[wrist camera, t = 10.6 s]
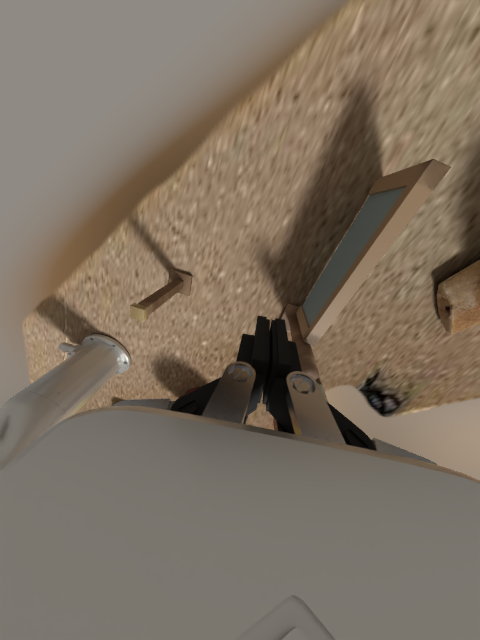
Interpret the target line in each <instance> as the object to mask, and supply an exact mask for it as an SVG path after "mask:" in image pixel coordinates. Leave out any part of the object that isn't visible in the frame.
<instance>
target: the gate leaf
mask: <svg viewBox="0 0 480 640" xmlns="http://www.w3.org/2000/svg"><path fill="white" fill-rule="evenodd" d="M450 168H451V167H450V166H448V165H446V164H444V163H441V162H439V161H437V160H435V159H432V160H429V161H426V162H423V163H420V164H418V165H415V166H412V167H409V168H406V169H404V170H401V171H398V172H395V173H392V174H390V175H387V176H384V177H381V178H378V179H377V180H376V182H375V183H374V185H373V186H372V188H371V190H370V191H369V193H368V195H370V196H369V197H368V199H367V201H366V202H365V204H364V206H363V207H362V209H361V211H360V212H359V214H358V215H357V217H356V219H355V220H354V222H353V224H352V225H351V227H350V229H349V230H348V232H347V233H346V235H345V237H344V238H343V240H342V242H341V243H340V245H339V246H338V248H337V250H336V251H335V253H334V255H333V256H332V258H331V260H330V261H329V263H328V264H327V266H326V268H325V269H324V271H323V273H322V274H321V276H320V277H319V279H318V281H317V282H316V284H315V286H314V287H313V289H312V291H311V292H310V294H309V295H308V297H307V299H306V300H305V302H304V304H303V305H300V307H299V309H298V310H297V312H296V314H297V318H298V322H299V326H300V330H301V333H302V337H303V341H304V342H305V343H307V344H310V345H313V346H315V345H316V343H317V342H318V341H319V339H320V338H321V337H322V336H323V334H324V333H325V332H326V330H327V329H328V328H329V326H330V325H331V324H332V322H333V321H334V320H335V318H336V317H337V316H338V315H339V313H340V312H341V311H342V309H343V308H344V307H345V305H346V304H347V303H348V301H349V300H350V299H351V297H352V296H353V295H354V294H355V292H356V291H357V290H358V288H359V287H360V286H361V284H362V283H363V282H364V280H365V279H366V278H367V277H368V275H369V274H370V273H371V271H372V270H373V269H374V267H375V266H376V265H377V263H378V262H379V261H380V259H381V258H382V257H383V256H384V254H385V253H386V252H387V250H388V249H389V248H390V246H391V245H392V244H393V242H394V241H395V240H396V238H397V237H398V236H399V235H400V233H401V232H402V231H403V229H404V228H405V227H406V225H407V224H408V223H409V221H410V220H411V219H412V218H413V216H414V215H415V214H416V212H417V211H418V210H419V208H420V207H421V206H422V204H423V203H424V202H425V200H426V199H427V198H428V197H429V195H430V194H431V193H432V191H433V190H434V189H435V187H436V186H437V185H438V183H439V182H440V181H441V180H442V178H443V177H444V176H445V174H446V173H447V172H448V170H449V169H450Z"/></svg>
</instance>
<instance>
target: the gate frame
mask: <svg viewBox="0 0 480 640" xmlns="http://www.w3.org/2000/svg"><path fill="white" fill-rule="evenodd" d="M192 276H193V275H190V274H187V273H184V272H180V271H177V270H174V269H170V277H169V284H167V285H166V286H164V287H162V288H161V289H159V290H158V291H156V292H155V293H153V294H152V295H150V296H149V297H147V298H146V299H144V300H142V301H141V302H139V303H138V304H136V303H134V304H132V305H130V312H131V318H134V319H137V320H140V321H143V322H145V321H146V320H147V319H148V315H150V314H151V313H152V312H153V311H155V310H156V309H157V308H158V307H160V306H161V305H162V304H163V303H165V302H166V301H167V300H168V299H170V298H171V297H172V296H173V295H174V294H176V293H177V292H178V293H181V294H184V295H187V296H189V295H190V291H191V283H192ZM298 309H299V306H295V305H292V304H289V303H288V304H287V306H286V308H285V310H284V313H283V315H282V317H281V319H284V320H285V324H286V329H287V330H290V331H291V336H292V342H296V346H297V351H298V355H299V360H300V365H301V370H302V372H304V373H306V374H308V375H310V376H312V377H313V378H314V379H315V380H316V379H317V378H318V376H319V372H318V369H317V366H316V362H315V359H314V356H313V353H312V349H311V346H310V344H307V343H305V342H304V341H303V337H302V333H301V330H300V326H299V322H298V318H297V314H296V312H297V310H298Z"/></svg>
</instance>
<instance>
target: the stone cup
mask: <svg viewBox="0 0 480 640" xmlns="http://www.w3.org/2000/svg"><path fill="white" fill-rule="evenodd" d="M438 287H439V288H438V291H437V305H438V312H439V316H440V318H441V322H442V324H443V325H444V327H445V330H446V331H447V332H448V333H450V334H455V333H457V332H459V331H462V330H464V329H467V328H469V327H472V326H474V325H476V324H479V323H480V260H478V261H476V262H475V263H473V264H471V265H470V266H468V267H466V268H465V269H463V270H461V271H460V272H458V273H456V274H454V275H453V276H451V277H449V278H447V279H446V280H444V281H443V282H442V283H440V284H439V286H438Z"/></svg>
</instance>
